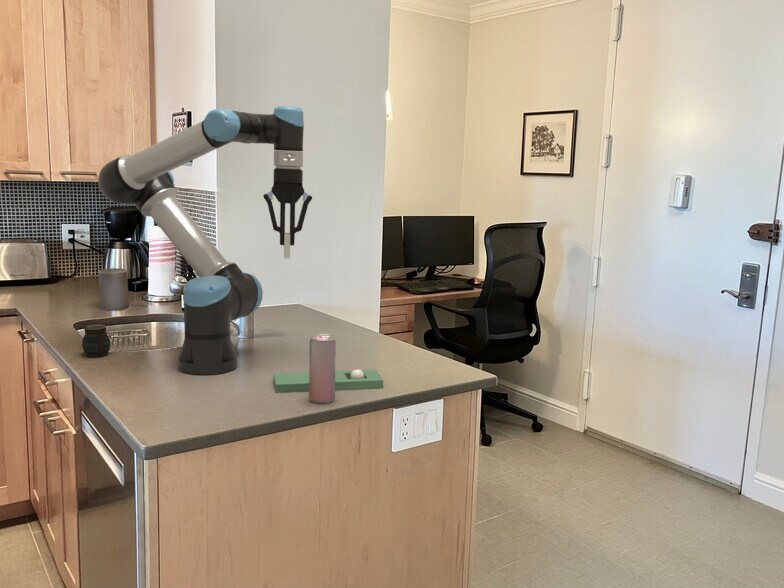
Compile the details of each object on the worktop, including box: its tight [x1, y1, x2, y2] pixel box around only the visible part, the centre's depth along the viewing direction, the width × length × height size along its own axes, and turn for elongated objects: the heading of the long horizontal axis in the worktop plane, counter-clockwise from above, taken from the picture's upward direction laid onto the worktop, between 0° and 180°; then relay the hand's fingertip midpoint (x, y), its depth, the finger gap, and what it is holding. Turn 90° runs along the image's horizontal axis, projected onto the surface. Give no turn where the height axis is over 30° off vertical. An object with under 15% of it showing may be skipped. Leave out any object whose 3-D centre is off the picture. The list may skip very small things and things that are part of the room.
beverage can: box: [308, 333, 337, 405], centre depth 161 cm, size 6×6×15 cm
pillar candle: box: [97, 267, 130, 312], centre depth 250 cm, size 10×10×15 cm
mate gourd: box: [79, 321, 111, 358], centre depth 191 cm, size 7×8×10 cm
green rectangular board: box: [272, 369, 384, 394], centre depth 173 cm, size 26×9×2 cm, turn 104°
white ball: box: [350, 368, 364, 379], centre depth 175 cm, size 4×4×4 cm
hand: (286, 257), depth 187 cm, fingers closed
